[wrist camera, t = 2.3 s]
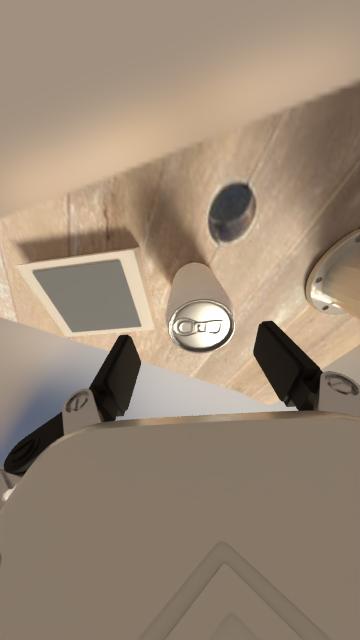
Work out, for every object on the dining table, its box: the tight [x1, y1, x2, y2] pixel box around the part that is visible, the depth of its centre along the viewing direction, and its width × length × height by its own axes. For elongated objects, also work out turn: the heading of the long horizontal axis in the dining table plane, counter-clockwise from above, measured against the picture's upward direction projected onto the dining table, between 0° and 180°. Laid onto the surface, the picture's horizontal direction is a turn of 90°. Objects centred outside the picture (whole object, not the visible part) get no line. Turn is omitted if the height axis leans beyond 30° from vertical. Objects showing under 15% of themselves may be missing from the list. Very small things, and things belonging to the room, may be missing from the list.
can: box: [166, 263, 235, 353], centre depth 17 cm, size 6×6×12 cm
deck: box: [16, 247, 158, 337], centre depth 22 cm, size 16×12×3 cm
